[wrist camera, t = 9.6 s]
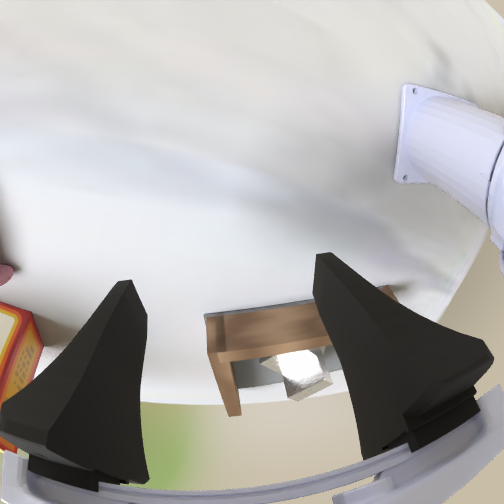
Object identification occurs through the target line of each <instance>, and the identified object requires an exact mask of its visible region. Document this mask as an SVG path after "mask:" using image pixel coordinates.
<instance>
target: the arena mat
mask: <svg viewBox="0 0 504 504" xmlns="http://www.w3.org/2000/svg"><path fill="white" fill-rule="evenodd" d="M377 288H378V289H379V290H381V289H382V288H384V287H383V286H382V287H377ZM310 302H311V303H313V302H315V299H312V300H306V301H300V302H293V303H287V304H280V305H281V306H280V305H274V306H271V307H270V306H267V307H259V308H257V309H256V308H252V309H245V310H246V311H245V310H244V311H243V310H237V311H232V312H231V311H229V312H230V314H231V313H232V314H239V313H247V312H254V311H261V308H263V309H262V310H266V309H267V310H268V309H275V308H277V307H278V308H282V307H288V306H295V304H296V305H298V304H299V305H301V304H307V303H310ZM290 304H291V305H290ZM284 305H285V306H284ZM287 305H288V306H287ZM276 306H277V307H276ZM268 307H270V308H268ZM253 309H254V310H253ZM240 311H241V312H240ZM229 312H223V313H222V312H220V313H218V314H217V313H216V314H215V313H211V314H204V320H205V324H206V317H213V315H214V316H216V315H218V316H221V314H222V315H224V314H227V315H230V314H229ZM320 349H321V352H322V354H323V357H324V360H325V363H326V365H327V368H328V371H329V372H333V371H337V370H341V369H342V366H341V363H340V361H339V358H338V356H337V353H336V351H335V349H334V347H333V344H332V345H327V346H323V347H320ZM232 362H233V367H234V372H235V377H236V381H237V386H238V389H240V388H248V387H255V386H262V385H268V384H274V383H280V382H284V380H283V376H282V374H280V373H278V372H276V371H274V370H271V369H269V368H267V367H265V366H263V365H261V364H260V362H259V358H255V359H247V360H240V361H232Z"/></svg>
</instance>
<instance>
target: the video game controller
mask: <svg viewBox="0 0 504 504" xmlns="http://www.w3.org/2000/svg"><path fill="white" fill-rule="evenodd" d="M13 273H14V270H13V268H12V267H11V266H8V265H0V286H2V285H3V284H5V283H7V282H8V281H9V280H10V279H11V277H12V276H13Z"/></svg>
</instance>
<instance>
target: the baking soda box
mask: <svg viewBox="0 0 504 504" xmlns="http://www.w3.org/2000/svg"><path fill="white" fill-rule="evenodd" d="M43 348H44V345H43V343H42V340H41V338H40V335H39V333H38V330H37V327H36V324H35V322H34V319H33V316H32V313H31V312H30V311H26V310H23V309H20V308H17V307H14V306H11V305H8V304H6V303H3V302H0V409H1V405H2V403H3V402H4V401H6V400H7V399H9V398H10V397H12V396H13V395H15V394H16V393H17V392H19V391H20V390H21V389H23V388H24V387H25V386H27V385H28V384H29V383H30V382H31V381H33V378H34V375H35V371H36V368H37V365H38V362H39V359H40V356H41V353H42V350H43ZM17 449H18V447H16V446H15V445H13V444H11V443H10V442H8V441H6V440H5V439H3V438H2V437H1V436H0V452H2V453H4V452H5V450H8V451H10V452H13V453H15V454H17Z"/></svg>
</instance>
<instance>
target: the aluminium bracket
mask: <svg viewBox="0 0 504 504" xmlns="http://www.w3.org/2000/svg"><path fill="white" fill-rule="evenodd" d="M259 362H260V364H261V365H263V366H265V367H267V368H269V369H271V370H274V371H276V372H278V373H280V374H282V376H283V380H284V384H285V388H286V392H287V396H288V398H290V399H293V400H296V401H299V400H301V399H304V398H306V397H308V396H310V395H312V394H314V393H316V392H318V391H320V390H322V389H324V388H326V387H328V386H330V385H332V384H333V382H332V380H331V377H330V374H329V371H328V368H327V365H326V363H325V360H324V357H323V354H322V352H321V349H320V347H318V348H313V349H308V350H303V351H298V352H292V353H286V354H281V355H274V356H268V357H262V358H259Z"/></svg>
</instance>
